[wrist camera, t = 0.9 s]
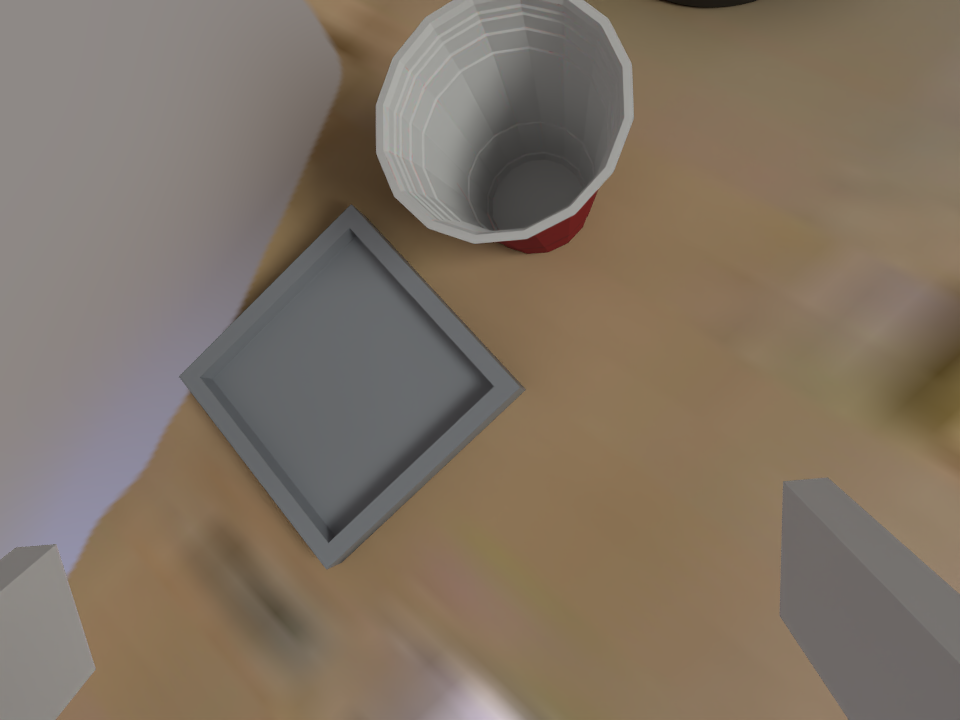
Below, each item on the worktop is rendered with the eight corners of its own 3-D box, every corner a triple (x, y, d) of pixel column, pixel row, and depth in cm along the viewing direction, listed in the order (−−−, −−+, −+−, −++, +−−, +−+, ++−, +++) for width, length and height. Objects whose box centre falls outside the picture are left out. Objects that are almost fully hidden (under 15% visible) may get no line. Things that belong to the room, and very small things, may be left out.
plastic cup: (410, 194, 39) (320, 92, 27) (558, 81, 38) (529, -75, 26) (511, 338, 37) (459, 294, 25) (671, 223, 35) (695, 121, 24)
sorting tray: (364, 215, 39) (351, 204, 38) (525, 389, 36) (520, 387, 34) (200, 379, 41) (179, 376, 39) (341, 562, 37) (326, 569, 35)
